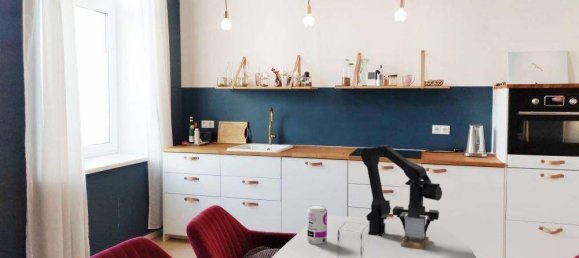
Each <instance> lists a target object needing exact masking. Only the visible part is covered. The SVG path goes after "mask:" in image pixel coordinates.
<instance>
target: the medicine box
mask: <svg viewBox="0 0 579 258" xmlns="http://www.w3.org/2000/svg"><path fill="white" fill-rule="evenodd" d="M426 219H427V216H421V215H420V217H419V218H416V217H408V214H406V217H405V231H404V236H407V237H415V238H424V237H425V234H424V232H425V225H426Z"/></svg>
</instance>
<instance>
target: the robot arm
mask: <svg viewBox="0 0 579 258" xmlns="http://www.w3.org/2000/svg"><path fill="white" fill-rule="evenodd" d="M380 156H384V157H385V158H387V159H388V160H389V161H390V162H392V163H393V164H394V165H396V166H397V167H399V168H400V169H401V170H402V171H403V173H404V175H405V176H406V177H407V178H408V180H407V181H406V182H405V183H404V185H406V186H409V197H408V198H409V200H408V205H407V209H406V208H404V206H397V205H395V206H394V207H393V209H392V208H391V204H390V203H391V202H390V200H386V198H385V196H384V192H383V186H382V180H381V177H380V171H379V162H380ZM360 158H361V159H362V163H363V164H364V166H365V167H366V169H367V170H366V171H367V174H368V180H369V186H370V190H371V196H372V197H371V198H372V201H371V204H370V209H371V211H370V212H369V213H368V214H367V215H366V220H367V221H368V222H369V224H368V226H369V227H368V233H367V234H368V235H372V236H373V235H375V236H383V235H384V234H385V233H386V223H385V220H387V219H388V216H389V215H390V214H392V215H393V216H396V218H399V220H400V221H401V225H402V228H403V231H404V232H405V217H406V216H407V215H408V217H416V218H419V217H420V216H425V217H426V218H425V232H424V234H426V235H427V231H428V228H429V225H430V223H431V222H434V221H435V220H436V221H437V220H439V218H440V211H439V210H438V209H429V211H426V206H425V205H424V199H428V200H434V201H437V202H438V201H440V200H441V199H442V196H443V190H442V187H441V184H440V183H438V182H437V183H436V182H435V183H433V182H432V181H431V179H430V177H429V175H428V174H427V169H426V168H425V167H423V166H421V165H419V164H417V163H414V162H412V161H409V159H407V158H405V157H404V156H403V155H401V153H399V152H397V151H396V150H395V149H393V148H392V146H390V145H389V144H383V145H380V146H377V147H376V146H369V147H364V148H362V150H361V151H360ZM391 209H392V213H391Z"/></svg>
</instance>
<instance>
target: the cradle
mask: <svg viewBox="0 0 579 258" xmlns="http://www.w3.org/2000/svg"><path fill="white" fill-rule="evenodd" d="M429 241H430V240H429V236H427V233H426V234H425V237H424V238H415V237H407V236H405V235H403V238H402V240H401V242H400V247H404V248H411V249H412V248H413V249H420V250H426V249H427V246H428V244H429Z"/></svg>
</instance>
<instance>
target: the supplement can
mask: <svg viewBox="0 0 579 258" xmlns="http://www.w3.org/2000/svg"><path fill="white" fill-rule="evenodd" d="M306 231H307V233H306V235H307V236H306V237H307V238H306V240H307V242H308V243H309V244H311V245H323V244H325V243H326V242H327V241H328V239H327V238H328V237H327V235H328V234H327V233H328V210H327V208H326V206H325V205H324V206H323V205H316V204H315V205H310V206H309V207H308V209H307V230H306Z"/></svg>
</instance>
